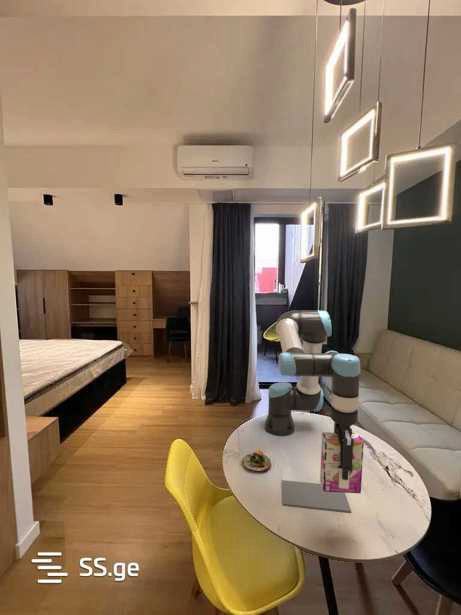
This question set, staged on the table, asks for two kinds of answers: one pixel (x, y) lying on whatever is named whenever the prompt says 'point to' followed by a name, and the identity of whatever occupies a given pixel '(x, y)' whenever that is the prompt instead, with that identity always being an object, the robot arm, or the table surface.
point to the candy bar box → (332, 460)
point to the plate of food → (257, 461)
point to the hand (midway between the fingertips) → (341, 480)
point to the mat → (313, 497)
